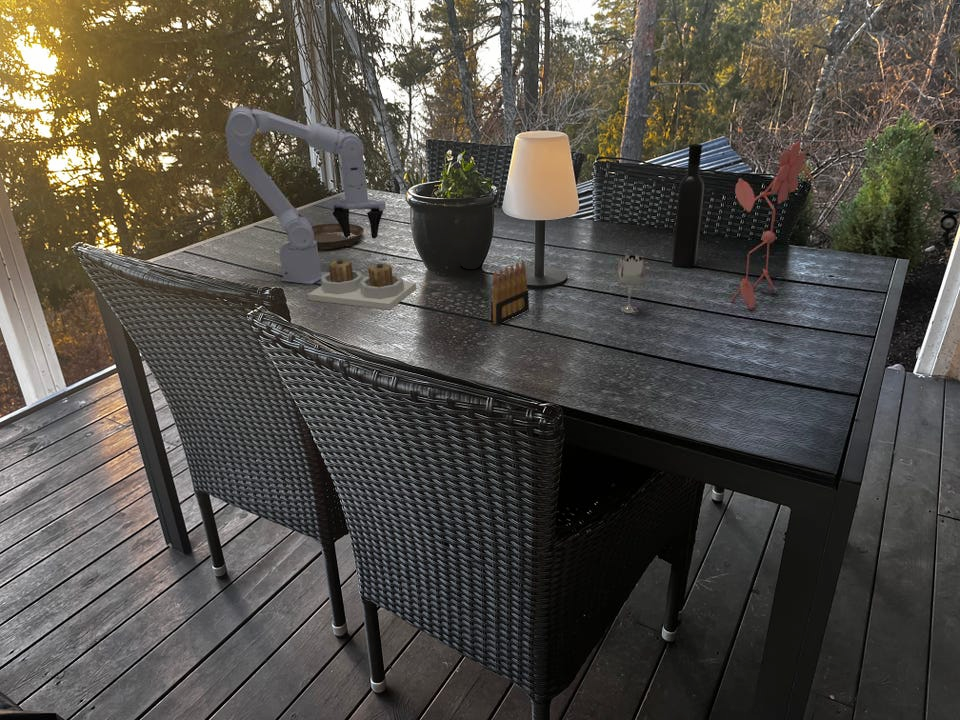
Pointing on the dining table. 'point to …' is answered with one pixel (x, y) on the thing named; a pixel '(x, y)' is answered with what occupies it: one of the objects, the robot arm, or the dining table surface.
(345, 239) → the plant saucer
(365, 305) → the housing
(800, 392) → the dining table surface
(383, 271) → the seated gear
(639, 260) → the wineglass
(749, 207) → the figurine
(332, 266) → the loose gear
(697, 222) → the wine bottle
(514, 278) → the ammunition clip
